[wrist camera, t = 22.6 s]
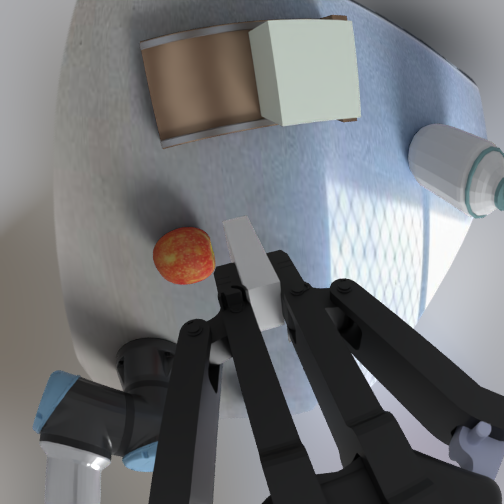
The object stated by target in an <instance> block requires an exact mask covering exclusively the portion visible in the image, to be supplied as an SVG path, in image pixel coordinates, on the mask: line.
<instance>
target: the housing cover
mask: <svg viewBox="0 0 504 504" xmlns="http://www.w3.org/2000/svg"><path fill="white" fill-rule="evenodd" d="M248 33H249V39H250V45H251V52H252V58H253V64H254V71H255V77H256V84H257V90H258V97H259V104H260V111H261V116H262V117H264V118H266V119H268V120H271V121H273V122H275V123H277V124H279V125H281V126H289V125H296V124H303V123H311V122H319V121H328V120H337V119H347V118H359V117H361V110H360V94H359V81H358V69H357V59H356V50H355V42H354V34H353V27H352V21H344V20H320V19H294V20H270V21H266V22H265V23H263V24H261V25H259V26H258V27H256V28H255V29H253V30H251V31H250V32H248Z"/></svg>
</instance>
